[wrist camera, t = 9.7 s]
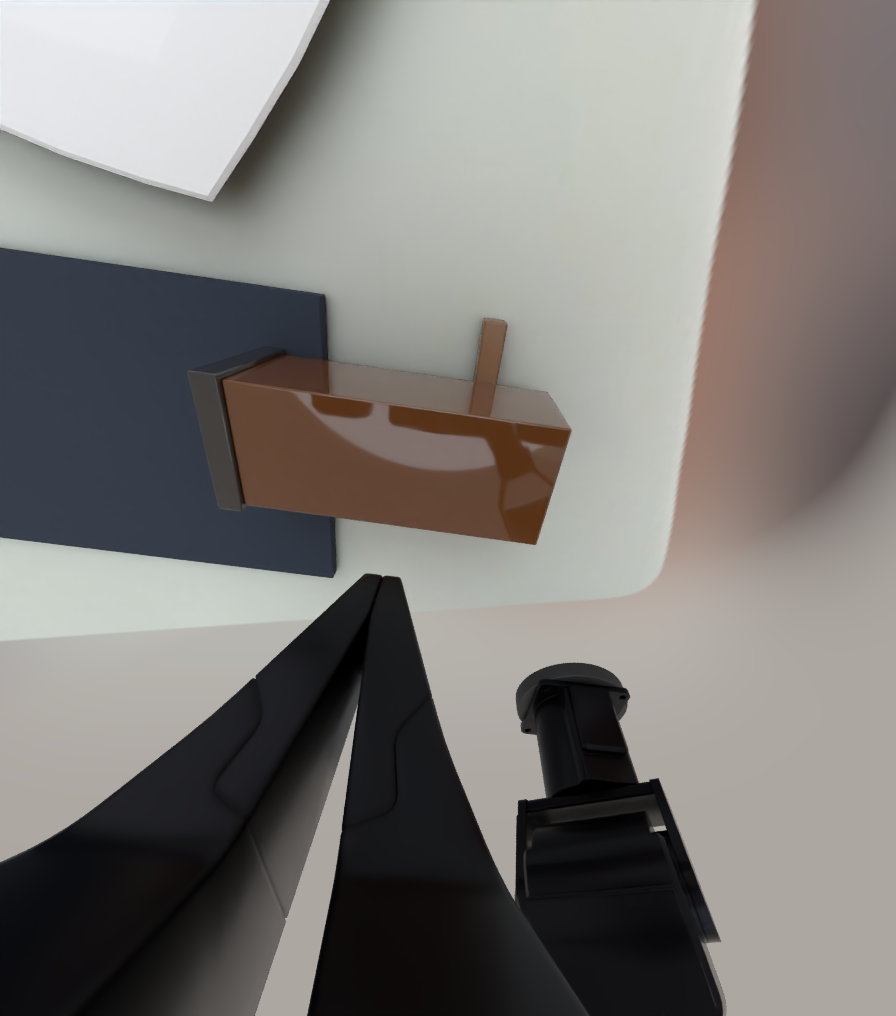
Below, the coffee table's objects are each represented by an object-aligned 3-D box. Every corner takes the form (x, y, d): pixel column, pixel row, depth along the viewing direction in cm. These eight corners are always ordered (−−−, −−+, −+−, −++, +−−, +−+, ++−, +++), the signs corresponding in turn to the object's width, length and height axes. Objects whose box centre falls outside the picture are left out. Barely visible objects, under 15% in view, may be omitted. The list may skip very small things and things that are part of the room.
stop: (470, 509, 22) (470, 520, 21) (453, 507, 22) (453, 518, 21) (505, 320, 17) (508, 323, 16) (483, 317, 17) (484, 319, 16)
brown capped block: (535, 552, 15) (217, 508, 15) (522, 489, 20) (277, 455, 20) (575, 425, 13) (185, 370, 12) (548, 386, 17) (264, 345, 17)
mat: (336, 570, 25) (333, 578, 24) (-134, 512, 24) (-152, 519, 23) (325, 294, 17) (319, 295, 16) (-396, 190, 16) (-435, 186, 15)
